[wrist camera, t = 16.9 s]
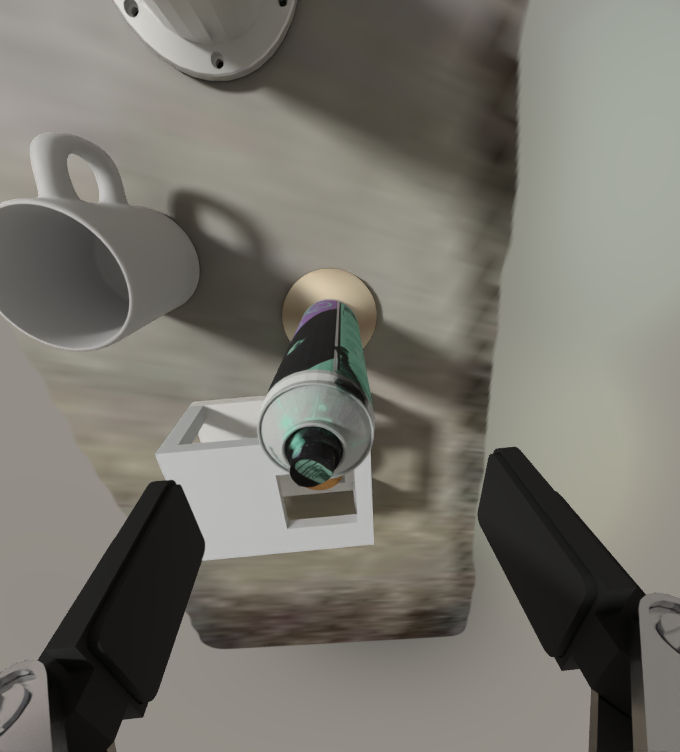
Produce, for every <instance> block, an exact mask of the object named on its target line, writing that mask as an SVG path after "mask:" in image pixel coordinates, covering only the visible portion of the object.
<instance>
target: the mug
mask: <svg viewBox="0 0 680 752" xmlns="http://www.w3.org/2000/svg"><path fill="white" fill-rule="evenodd" d="M71 153H73V154H76V155H78V156H80V157H81V158H83V159H84V160H85V161H86V162H87V163H88V164H89V165H90V167H91V168H92V170H93V172H94V174H95V177H96V180H97V183H98V187H99V195H100V198H99V202H97V203H88V202H85V201H82V200H80V198H79V197H78V196H77V194H76V192H75V190H74V188H73V185H72V183H71V180H70V177H69V173H68V168H67V158H68V155H69V154H71ZM30 159H31V164H32V169H33V173H34V177H35V181H36V185H37V189H38V197H37V198H19V199H12V200H7V201H4V202H2V203H0V314H1V315H2V316H3V317H4V318H5V319H6V320H7V321H9V322H10V323H11V324H12V325H13V326H15V327H16V328H17V329H19V330H20V331H22V332H23V333H25V334H26V335H28V336H30V337H32V338H34V339H36V340H38V341H40V342H42V343H44V344H47V345H49V346H53V347H56V348H59V349H64V350H70V351H91V350H98V349H101V348H104V347H107V346H110V345H112V344H114V343H116V342H118V341H120V340H121V339H123V338H125V337H126V336H128V335H130V334H132V333H133V332H135V331H137V330H139V329H140V328H142V327H144V326H145V325H147V324H149V323H151V322H152V321H154V320H156V319H157V318H159V317H161V316H163V315H164V314H166V313H168V312H170V311H172V310H174V309H176V308H178V307H179V306H181V305H182V304H184V303H185V302H186V301H187V300H188V299H190V297H191V296H192V295H193V293H194V291H195V289H196V287H197V284H198V281H199V274H200V268H199V260H198V256H197V253H196V250H195V248H194V246H193V244H192V242H191V240H190V239H189V237H188V236H187V235H186V233H185V232H184V231H183V230H182V229H181V228H180V226H178V225H177V224H176V223H175V222H174V221H173V220H171V219H170V218H168V217H167V216H165V215H163V214H162V213H160V212H157V211H155V210H153V209H149V208H145V207H140V206H131V205H129V204H128V202H127V199H126V196H125V192H124V188H123V184H122V180H121V177H120V174H119V172H118V169H117V167H116V165H115V163H114V162H113V160H112V159H111V157H110V156H109V155H108V154H107V153H106V152H105V151H104V150H102V149H101V148H100V147H99V146H97V145H95V144H94V143H92V142H90V141H88V140H86V139H83V138H81V137H79V136H75V135H72V134H67V133H60V132H49V133H42V134H40V135H38V136H36V137H35V138H34V139H33V141H32V142H31V146H30Z"/></svg>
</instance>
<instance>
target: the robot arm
mask: <svg viewBox="0 0 680 752" xmlns="http://www.w3.org/2000/svg"><path fill="white" fill-rule="evenodd" d="M112 1H113V2H114V4H115V5H116V7H117V9H118V10H119V12H120V13H121V15H122V16H123V18H124V19H125V21H126V22H127V24H128V25H129V26H130V27H131V28H132V29H133V31H134V32H135V33H136V34H137V35H138V36H139V37H140V39H141V40H142V41H143V42H144V43H145V44H146V45H147V46H148V47H149V48H150V49H151V50H152V51H153V52H154V53H155V54H156V55H157V56H159V57H160V58H161V59H163V60H164V61H166V62H167V63H168V64H170V65H171V66H173V67H174V68H175V69H177V70H179V71H182V72H184V73H186V74H188V75H190V76H192V77H195V78H200V79H204V80H208V81H230V80H233V79H237V78H241V77H244V76H246V75H248V74H250V73H251V72H253V71H255V70H257V69H258V68H260V67H261V66H262V65H263V64H264V63H265V62H266V61H267V60H268V59H269V58H270V57H272V56H273V54H274V53H275V51H276V50H277V48H278V47H279V46H280V44H281V43H282V41H283V40H284V38H285V36H286V33H287V31H288V29H289V27H290V24H291V22H292V20H293V17H294V13H295V9H296V5H297V1H298V0H112ZM281 1H285V2H286V3H287V5H286V6H284V7H281V6H280V3H281ZM137 11H139V12H138V15H137V16H136V17H135V13H136V12H137ZM219 62H223V63H224V65H223V67H222V68H221V69H218V63H219ZM478 520H479V524H480V526H481V528H482V530H483V532H484V534H485V536H486V538H487V540H488V542H489V544H490V546H491V547H492V549H493V551H494V553H495V555H496V557H497V559H498V561H499V563H500V565H501V567H502V569H503V571H504V573H505V575H506V576H507V579H508V580H509V582H510V584H511V586H512V588H513V590H514V592H515V594H516V596H517V598H518V600H519V602H520V604H521V606H522V608H523V609H524V612H525V613H526V615H527V617H528V619H529V621H530V623H531V625H532V627H533V629H534V631H535V633H536V635H537V637H538V639H539V641H540V642H541V645H542V646H543V648H544V650H545V651H546V653H547V654H548V655H549V656H551V657H555V659H556V661H557V663H558V665H559V667H560V669H561V670H562V671H564V670H574V669H580V670H581V672H582V673H583V675H584V677H585V679H586V680H587V682H588V684H589V686H590V687H591V707H590V731H589V752H680V598H677V597H674V596H671V595H668V594H662V593H652V594H647V595H646V594H645V593H644V592H643V591H642V590H641V588H640V587H639V586H638V585H637V584H636V583H635V582H634V580H633V579H632V578H631V577H630V576H629V574H628V573H627V572H626V571H625V570H624V569H623V567H622V566H621V565H620V564H619V563H618V562H617V560H616V559H615V558H614V557H613V556H612V554H611V553H610V552H609V551H608V550H607V549H606V547H605V546H604V545H603V544H602V543H601V542H600V540H599V539H598V538H597V537H596V536H595V535H594V533H593V532H592V531H591V530H590V529H589V528H588V527H587V525H586V524H585V523H584V522H583V521H582V519H580V517H579V516H578V515H577V514H576V513H575V511H574V510H573V509H572V508H571V507H570V505H569V504H568V503H567V502H566V501H565V500H564V498H563V497H562V496H561V495H560V494H559V493H558V492H556V491H554V490H553V488H552V487H551V486H550V485H549V484H548V482H547V481H546V480H545V479H544V478H543V477H542V475H541V474H540V473H539V472H538V471H537V469H536V468H535V467H534V466H533V465H532V463H531V462H530V461H529V460H528V459H527V458H526V456H525V455H524V454H523V453H522V452H521V450H519V449H518V448H517V447H508V448H498V449H495V450H494V453H493V454H490V455H489V458H488V463H487V468H486V473H485V478H484V483H483V488H482V493H481V498H480V503H479V508H478ZM204 552H205V540H204V538H203V535H202V533H201V531H200V528H199V526H198V524H197V521H196V519H195V516H194V514H193V512H192V509H191V507H190V505H189V502H188V500H187V498H186V495H185V493H184V491H183V488H182V486H181V485H180V484H176V482H175V481H174V480H166V481H155V482H151V483H150V484H149V485H148V486H147V488H146V489H145V491H144V493H143V494H142V496H141V497H140V499H139V501H138V502H137V504H136V505H135V507H134V509H133V510H132V512H131V513H130V515H129V517H128V518H127V520H126V522H125V523H124V525H123V526H122V528H121V530H120V531H119V533H118V534H117V536H116V537H115V539H114V540H113V541H112V543H111V544H110V546H109V547H108V549H107V551H106V552H105V554H104V555H103V557H102V559H101V560H100V562H99V563H98V565H97V567H96V568H95V570H94V571H93V573H92V575H91V576H90V578H89V579H88V581H87V583H86V584H85V586H84V587H83V589H82V590H81V592H80V594H79V595H78V597H77V599H76V600H75V602H74V603H73V605H72V606H71V608H70V610H69V611H68V613H67V614H66V616H65V618H64V619H63V621H62V622H61V624H60V626H59V627H58V629H57V631H56V632H55V634H54V635H53V637H52V638H51V640H50V642H49V643H48V645H47V646H46V648H45V650H44V651H43V653H42V654H41V656H40V657H39V659H38V660H24V661H21V662H19V663H15V664H13V665H11V666H10V667H8V668H6V669H4V670H2V671H1V672H0V752H116V747H115V743H114V740H115V738H116V735H117V732H118V730H119V727H120V725H121V722H122V720H124V719H133V718H142V717H143V716H144V713H145V710H146V707H147V705H148V702H149V701H152V700H153V699H154V698H155V696H156V694H157V692H158V689H159V687H160V683H161V681H162V678H163V675H164V672H165V669H166V666H167V663H168V660H169V657H170V654H171V651H172V648H173V645H174V642H175V639H176V636H177V633H178V630H179V627H180V624H181V621H182V618H183V615H184V612H185V609H186V606H187V603H188V600H189V597H190V594H191V591H192V588H193V585H194V582H195V579H196V576H197V574H198V571H199V568H200V565H201V562H202V559H203V556H204Z"/></svg>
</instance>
